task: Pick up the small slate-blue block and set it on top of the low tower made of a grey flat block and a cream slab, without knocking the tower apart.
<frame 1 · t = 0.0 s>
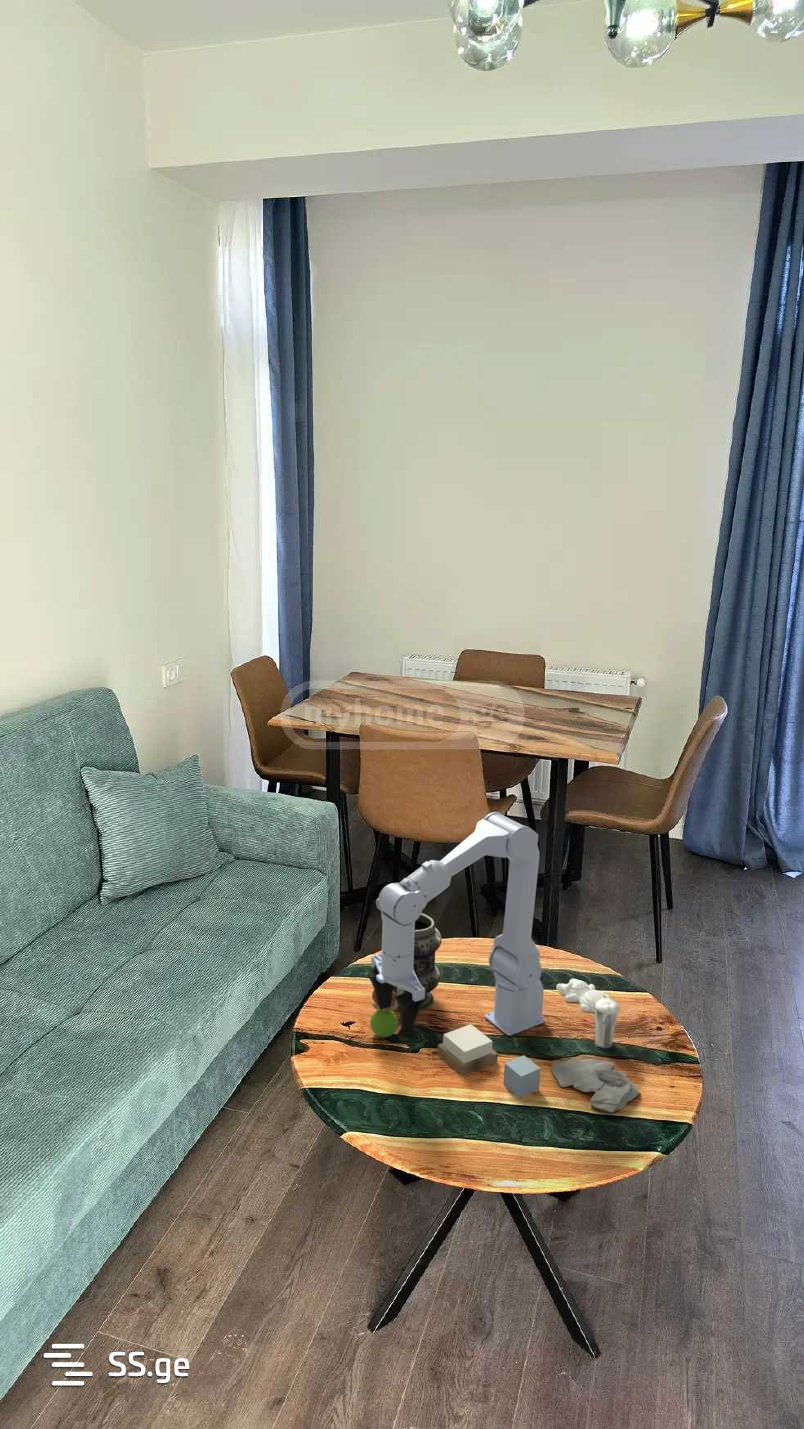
hand: (395, 1017, 173), 10 cm above the table, fingers open, 7 cm apart
cream slab: (467, 1049, 178), point 2 cm above the table, touching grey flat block
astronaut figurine: (583, 999, 200), on the table
apothecary jar: (410, 1001, 197), on the table
fossil: (589, 1088, 172), on the table
milkshake: (601, 1044, 184), on the table
slate block: (521, 1087, 171), on the table
snail figurine: (386, 1036, 185), on the table
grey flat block: (466, 1060, 179), on the table, touching cream slab
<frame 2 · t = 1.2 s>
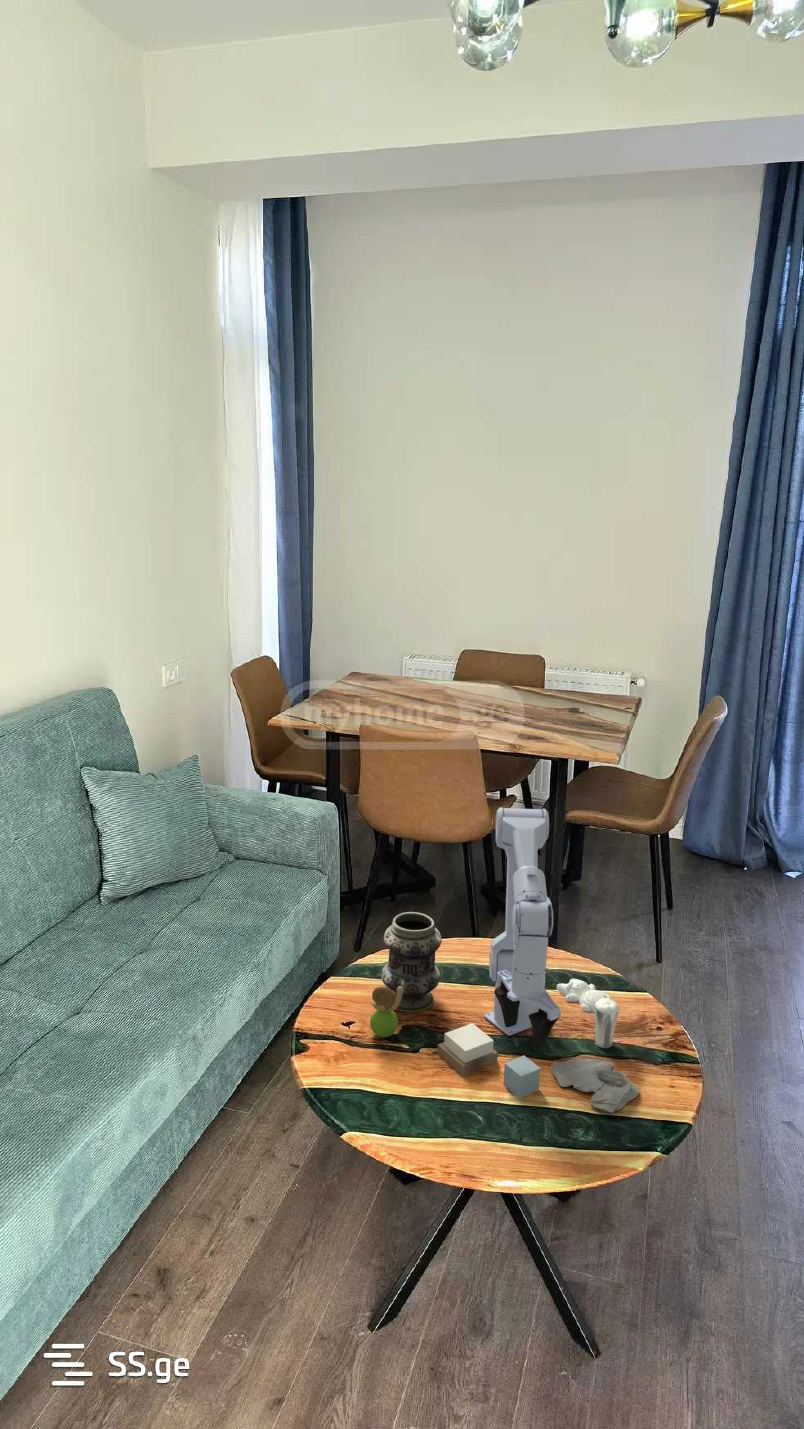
hand: (524, 1036, 168), 10 cm above the table, fingers open, 7 cm apart
cream slab: (468, 1048, 178), point 2 cm above the table
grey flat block: (467, 1060, 179), on the table
everything else where it was.
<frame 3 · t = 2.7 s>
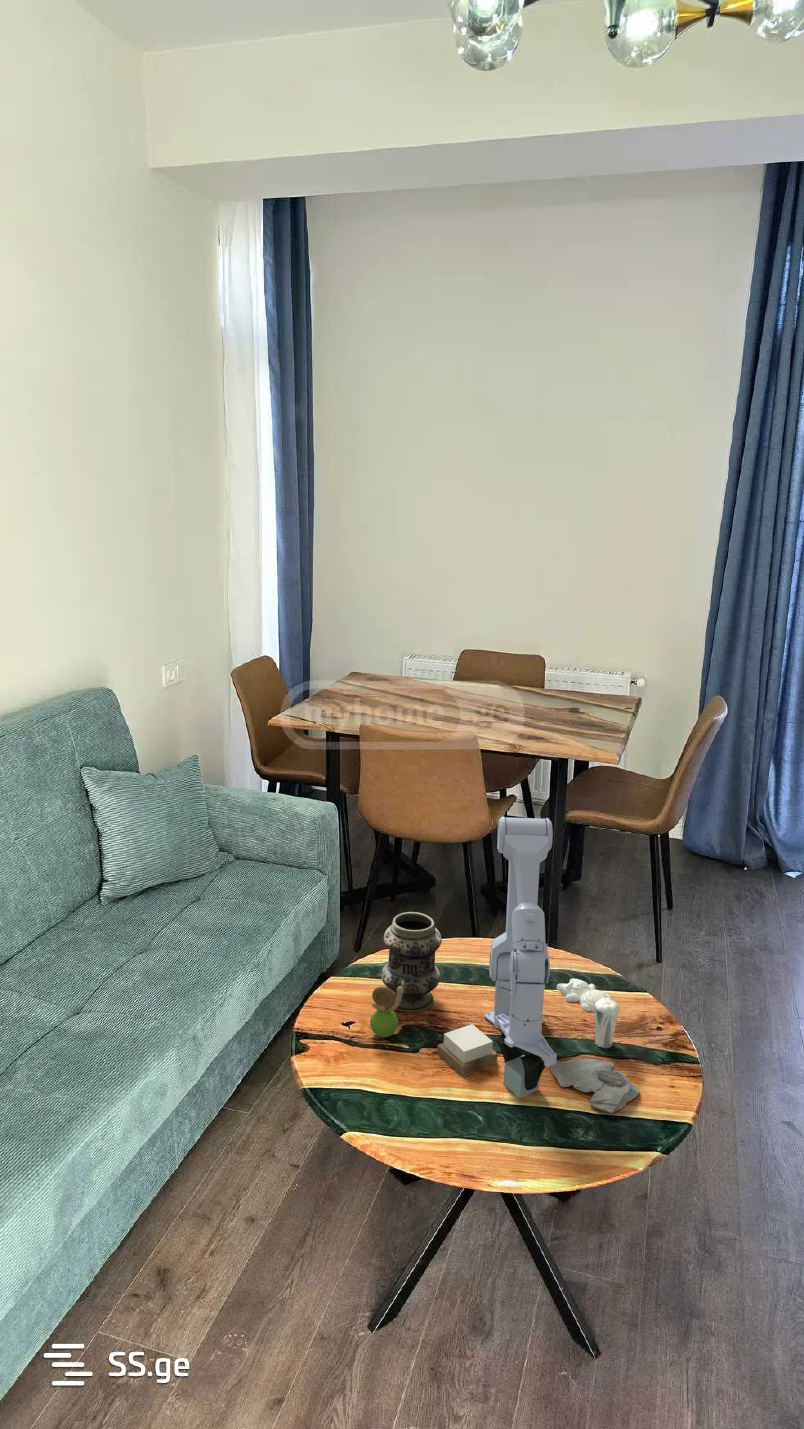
hand: (521, 1080, 170), 1 cm above the table, fingers closed on slate block, 4 cm apart
cream slab: (467, 1049, 178), point 2 cm above the table, touching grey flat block
slate block: (521, 1087, 170), on the table, touching gripper
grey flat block: (466, 1061, 179), on the table, touching cream slab
everything else where it was.
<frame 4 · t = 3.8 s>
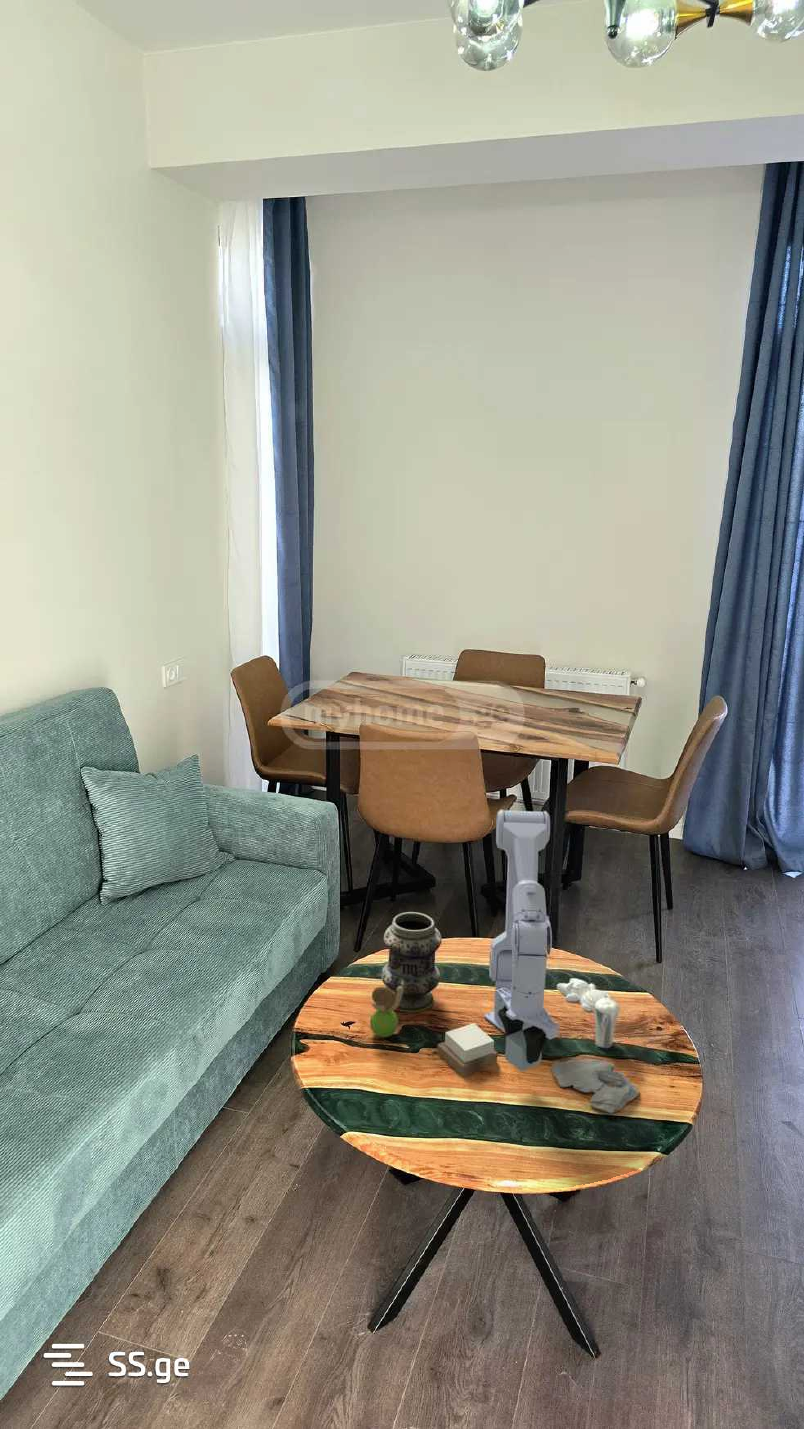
hand: (523, 1053, 169), 7 cm above the table, fingers closed on slate block, 4 cm apart
slate block: (522, 1061, 169), point 5 cm above the table, touching gripper
everything else where it was.
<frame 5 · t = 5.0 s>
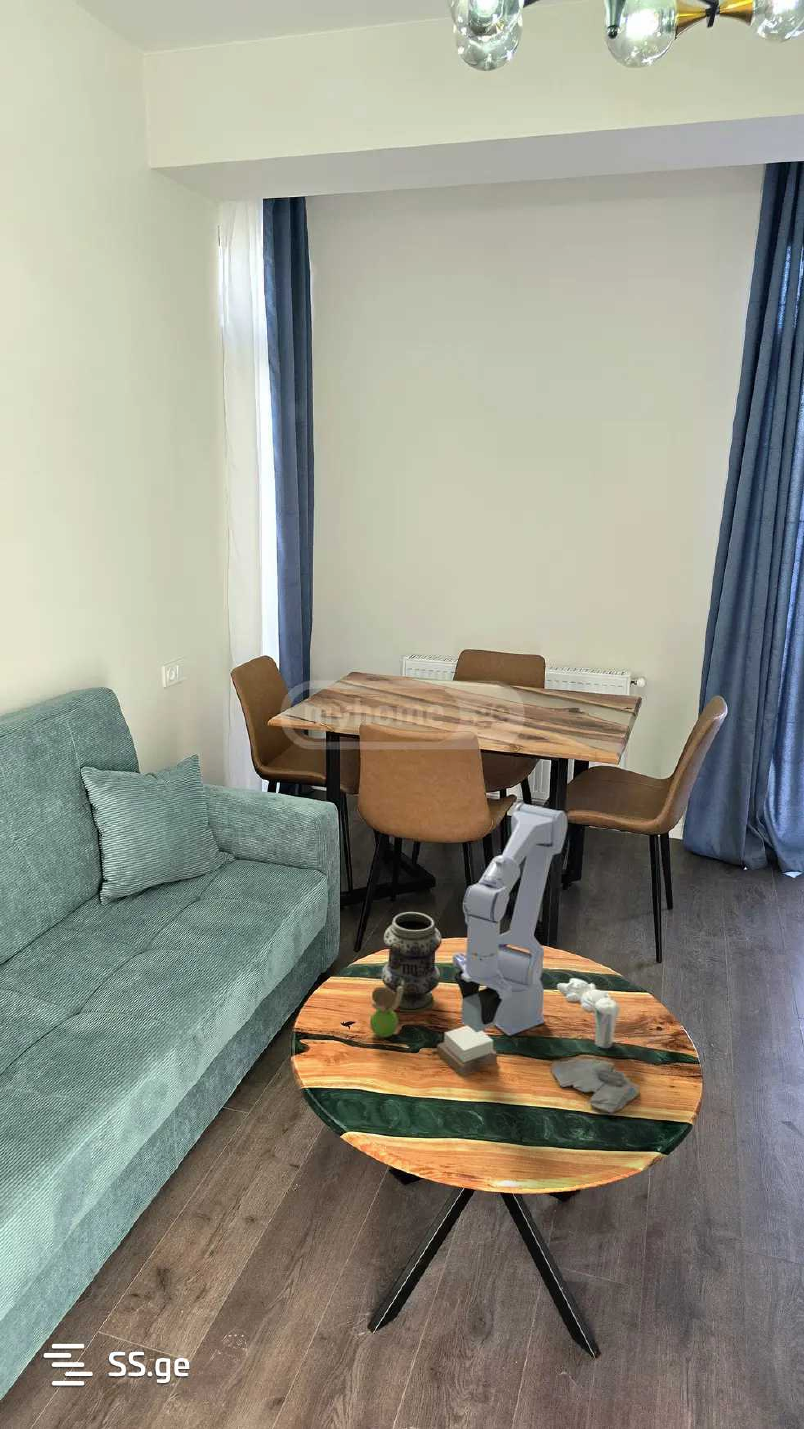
hand: (479, 1015, 175), 10 cm above the table, fingers closed on slate block, 4 cm apart
slate block: (478, 1022, 175), point 8 cm above the table, touching gripper
everything else where it was.
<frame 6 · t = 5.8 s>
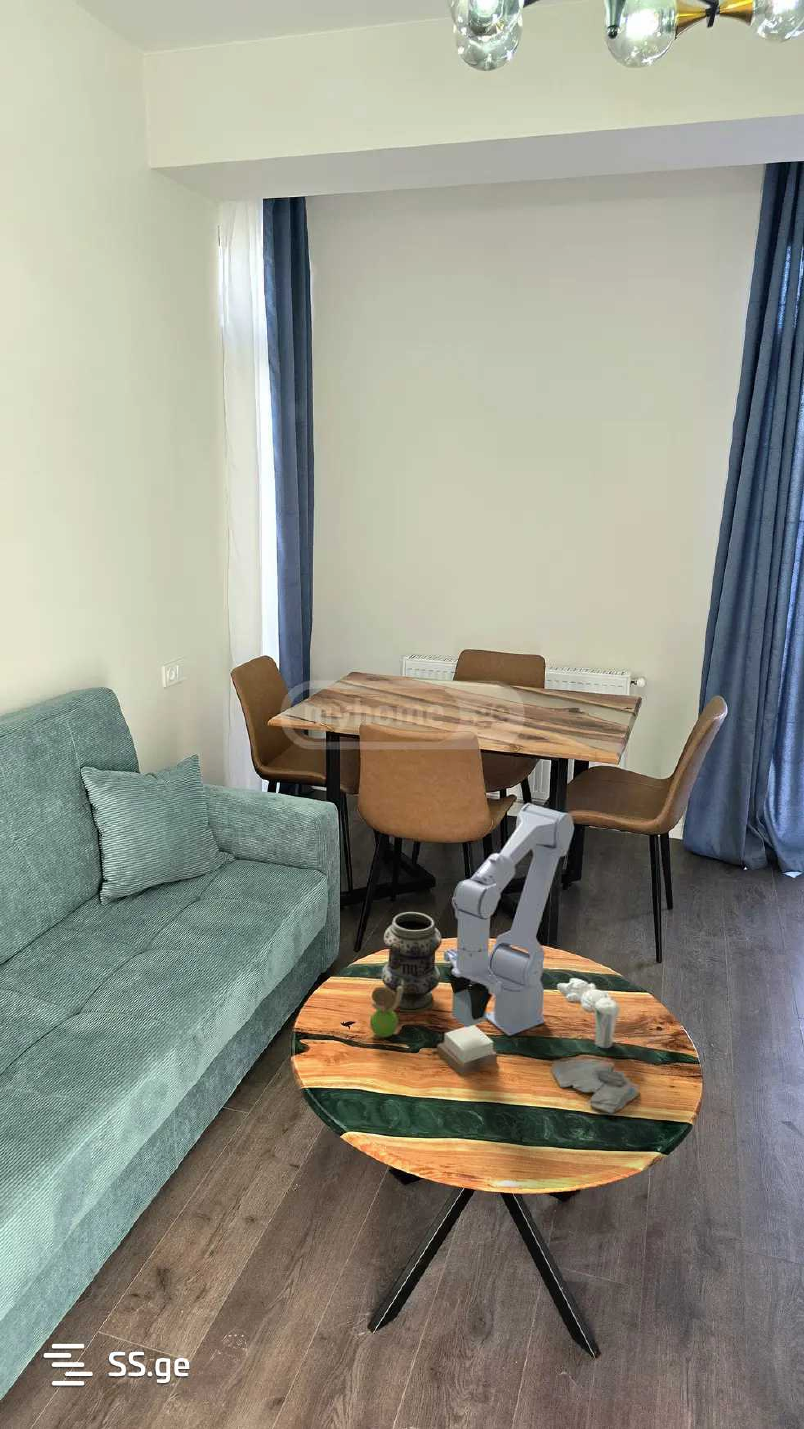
hand: (469, 1011, 176), 10 cm above the table, fingers closed on slate block, 4 cm apart
slate block: (468, 1018, 176), point 8 cm above the table, touching gripper
everything else where it was.
when the fingers open (7 cm above the table, at t = 6.9 s): slate block drops 1 cm, resting on cream slab.
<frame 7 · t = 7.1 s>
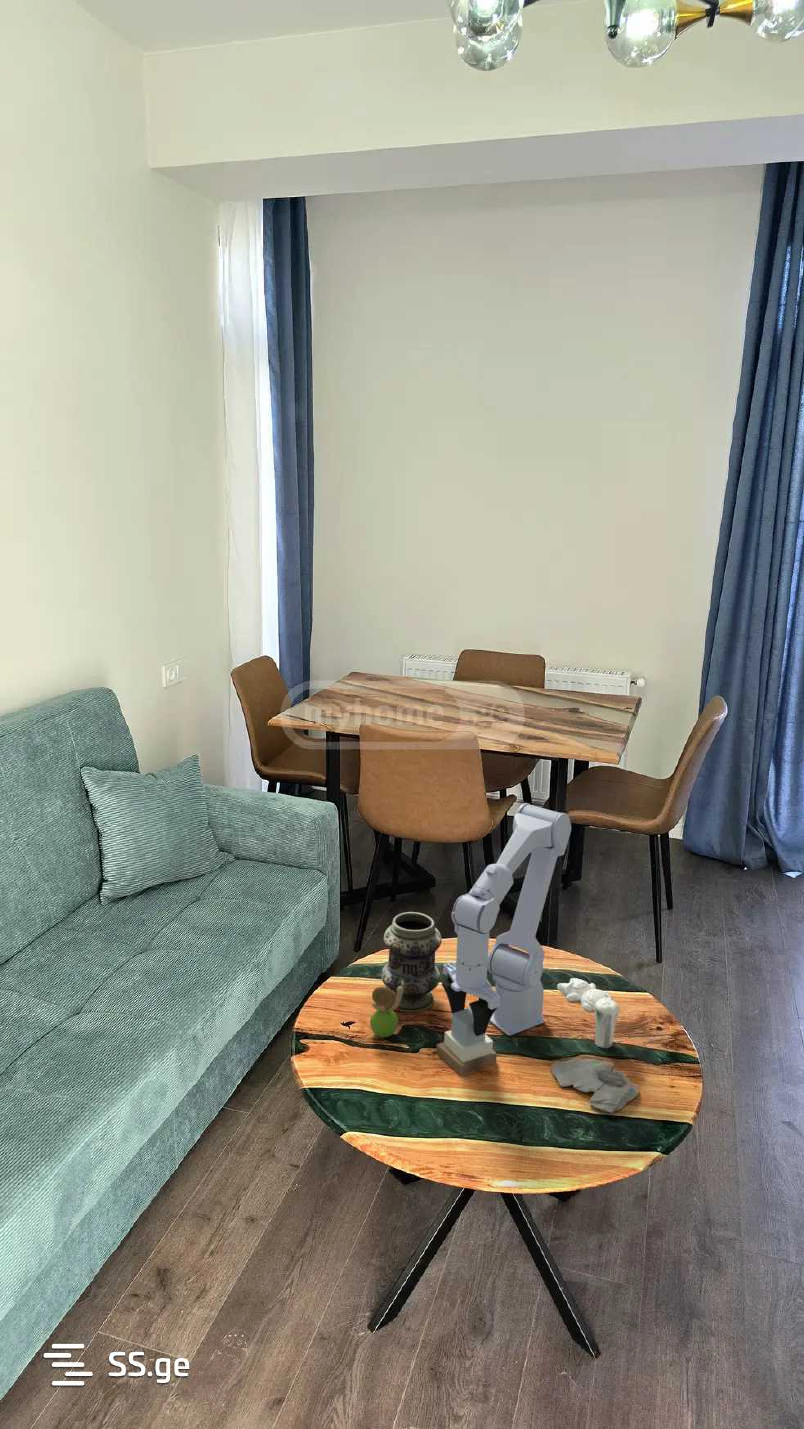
hand: (468, 1024, 177), 7 cm above the table, fingers open, 6 cm apart
cream slab: (468, 1048, 178), point 2 cm above the table, touching slate block, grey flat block
slate block: (468, 1037, 177), point 4 cm above the table, touching cream slab
everything else where it was.
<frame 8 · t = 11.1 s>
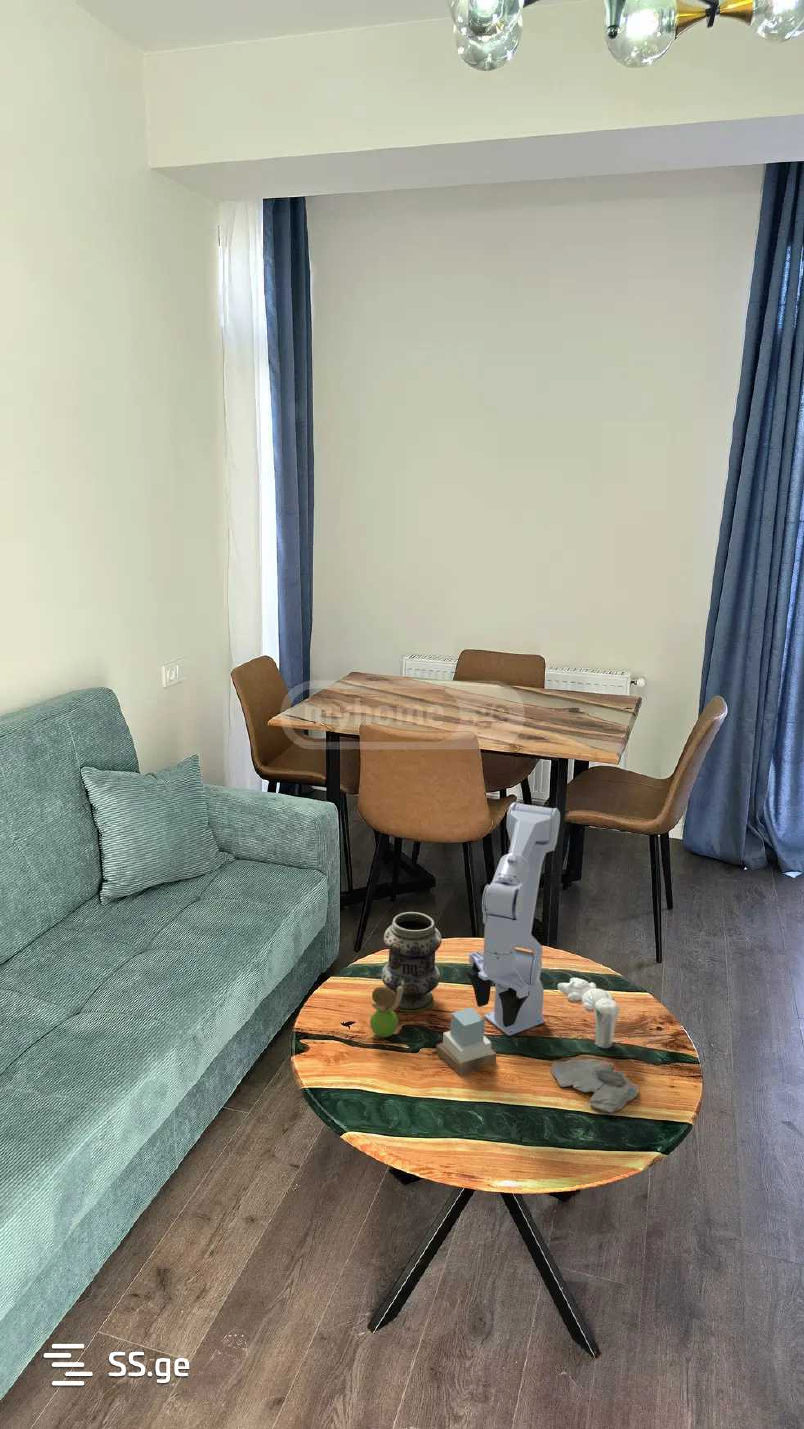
hand: (495, 1014, 174), 10 cm above the table, fingers open, 7 cm apart
nothing on the table moved.
at the end: slate block 0.1 cm off-centre on the cream slab, point 2.5 cm above the cream slab's base; cream slab 0.1 cm off-centre on the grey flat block, point 2.5 cm above the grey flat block's base; slate block tilted 0° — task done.
